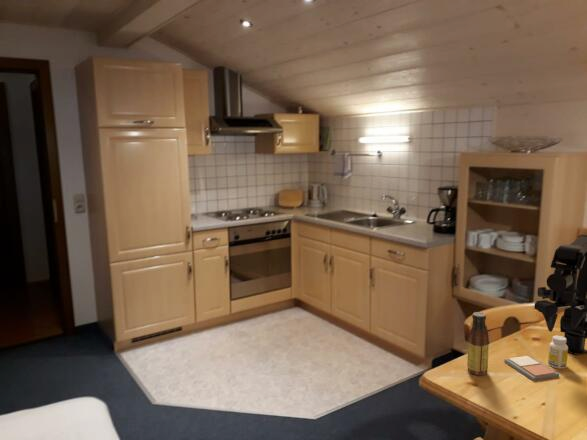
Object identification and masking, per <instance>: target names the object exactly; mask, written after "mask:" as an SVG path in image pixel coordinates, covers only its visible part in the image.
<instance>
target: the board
mask: <svg viewBox="0 0 587 440" xmlns="http://www.w3.org/2000/svg"><path fill="white" fill-rule="evenodd" d="M503 362H504V363H505V364H506V365H508V366H510V367H512V368H513V369H514V370H516V371H518V372H519V373H520V374H522V375H523V376H525V377H526V378H528V379H529V380H531V381H533V382H535V381H540V380H546V379H551V378H553V379H555V378H558V377H560V373H559V372H557V371H555V370H554V369H553V368H551V367H549V366H547V365H545V364H544V363H542V362H541V361H539V360H537V359H535V358H533V357H532V356H530V355H524V356H517V357H510V358H505V359H504V361H503Z"/></svg>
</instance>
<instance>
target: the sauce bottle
mask: <svg viewBox="0 0 587 440" xmlns="http://www.w3.org/2000/svg"><path fill="white" fill-rule="evenodd" d="M471 318H472V326H471V328H470V330H469V332H468V337H467V359H466V360H467V364H466V365H467V371H468V372H469V373H470V374H471V375H475V376H479V377H480V376H486V375H487V374H488V368H489V332H488V331H487V328H486V319H487V315H486V313H484V312H481V311H479V312H478V311H474V312H473V313H472V317H471Z"/></svg>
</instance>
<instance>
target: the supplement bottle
mask: <svg viewBox="0 0 587 440" xmlns="http://www.w3.org/2000/svg"><path fill="white" fill-rule="evenodd" d="M548 348H549V349H548V359H547V361H548V362H547V363H548V365H549V366H550V367H551V368H555V369H566V368H567V364H568V362H567V361H568V353H569V352H568V346H567V345H566V338H565V337H564V336H562V335H553V336H552V341H551V342H550V343H549V347H548Z"/></svg>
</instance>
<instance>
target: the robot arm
mask: <svg viewBox="0 0 587 440" xmlns="http://www.w3.org/2000/svg"><path fill="white" fill-rule="evenodd" d="M550 268H552V269H554V270H553V271H554V272H553V273H551V274H550V275H548V277H547V279H546V285H547V287H548V288H546V287H545V286H543V287H542V286H541V287H537V291H536V292H537V297H540V298H541V300H537V301H535V302H534V308H533V309H534V310H536V311H537V312H539V313H541V314H542V315H543V317H544V320H545V324H546V326H547V330H548V331H549V332H550V333H551V332H553V331H554V328H555V324H556V322H557V319H558V312H559V311H558V310H559V309H564V311H563V315H561V318H560V319H559V325H560V329H559V330H560V333H563V334H564V336H563V337H565V338H566V345H567V346H568V353H570V354H572V355H579V354H586V353H587V349H585V345H586V340H587V234H584V233H583V234H579V235H578V236H577V238H576V239H575V240H574V241H573V242H571V243H570V244H562V245H560V246H558V248H556V249H555V251H554V255H553V258H552V261H551V264H550ZM546 299H549V300H546Z"/></svg>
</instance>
